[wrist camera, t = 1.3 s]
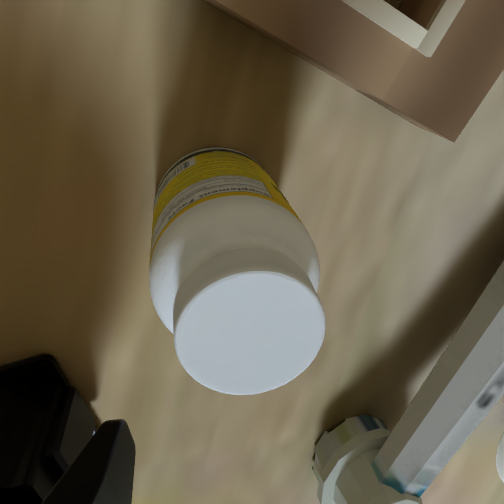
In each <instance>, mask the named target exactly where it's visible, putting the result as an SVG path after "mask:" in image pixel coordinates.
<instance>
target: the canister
mask: <svg viewBox="0 0 504 504" xmlns="http://www.w3.org/2000/svg"><path fill="white" fill-rule="evenodd" d="M496 467H497V471H498V474H499V476H500V478H501V479H502V481H503V482H504V433H503V435H502V438H501V440H500V443H499V446H498V449H497V454H496Z"/></svg>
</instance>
